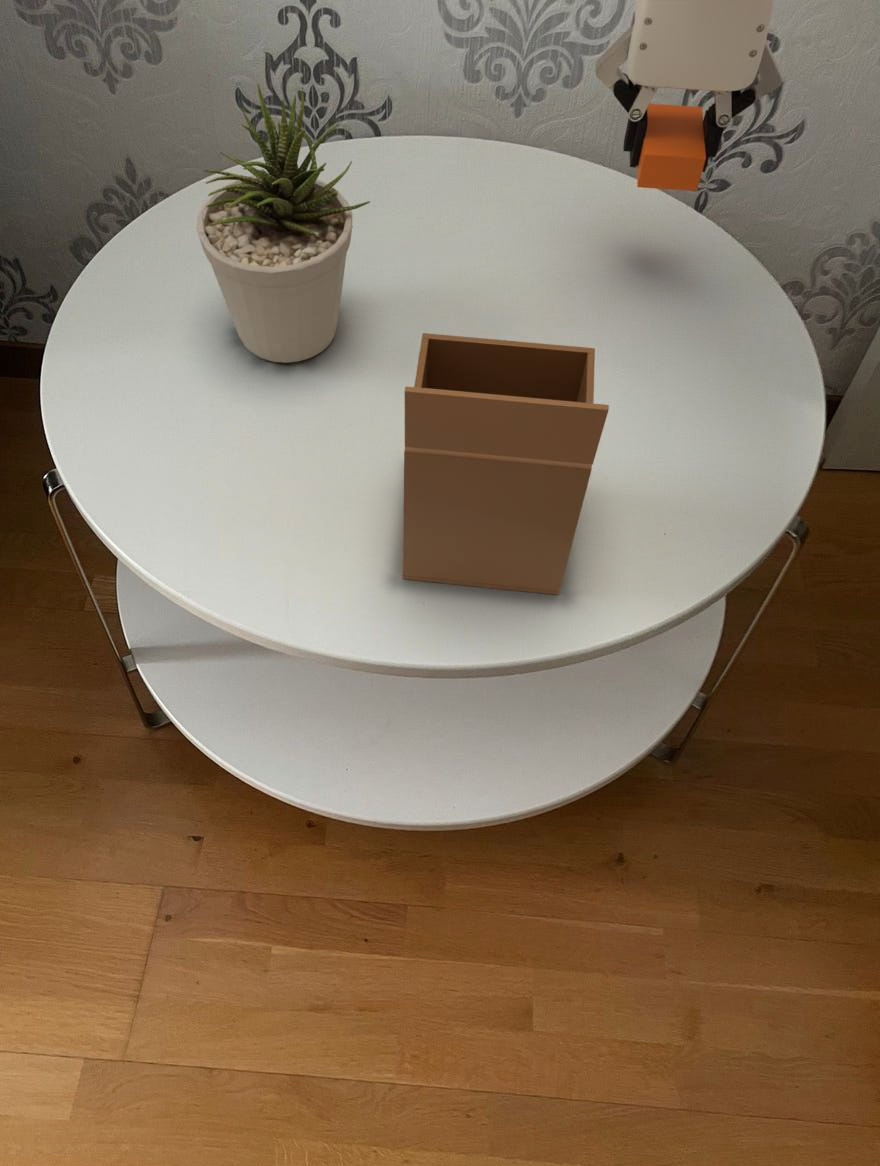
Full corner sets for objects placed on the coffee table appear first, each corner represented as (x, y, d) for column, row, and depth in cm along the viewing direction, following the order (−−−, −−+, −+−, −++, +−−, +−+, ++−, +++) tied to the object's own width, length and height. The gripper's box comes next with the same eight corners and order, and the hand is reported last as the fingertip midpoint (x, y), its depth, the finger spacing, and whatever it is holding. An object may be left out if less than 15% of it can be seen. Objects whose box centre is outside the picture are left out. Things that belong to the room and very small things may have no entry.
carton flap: (608, 404, 57) (608, 410, 57) (592, 459, 62) (592, 465, 62) (405, 385, 58) (404, 391, 57) (405, 442, 62) (404, 447, 62)
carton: (563, 483, 80) (595, 347, 68) (558, 595, 75) (591, 469, 62) (418, 469, 81) (422, 332, 68) (402, 579, 75) (404, 451, 63)
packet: (636, 136, 87) (643, 102, 84) (693, 140, 86) (702, 106, 84) (637, 187, 83) (644, 153, 80) (696, 191, 83) (706, 158, 80)
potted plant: (387, 360, 87) (385, 149, 70) (235, 394, 85) (195, 184, 68) (347, 271, 93) (337, 56, 76) (205, 300, 91) (161, 86, 74)
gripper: (843, -101, 70) (763, 141, 86) (604, -113, 71) (568, 128, 87) (855, -51, 66) (770, 194, 82) (603, -64, 68) (566, 179, 83)
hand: (667, 158), depth 84 cm, fingers closed on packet, 5 cm apart
